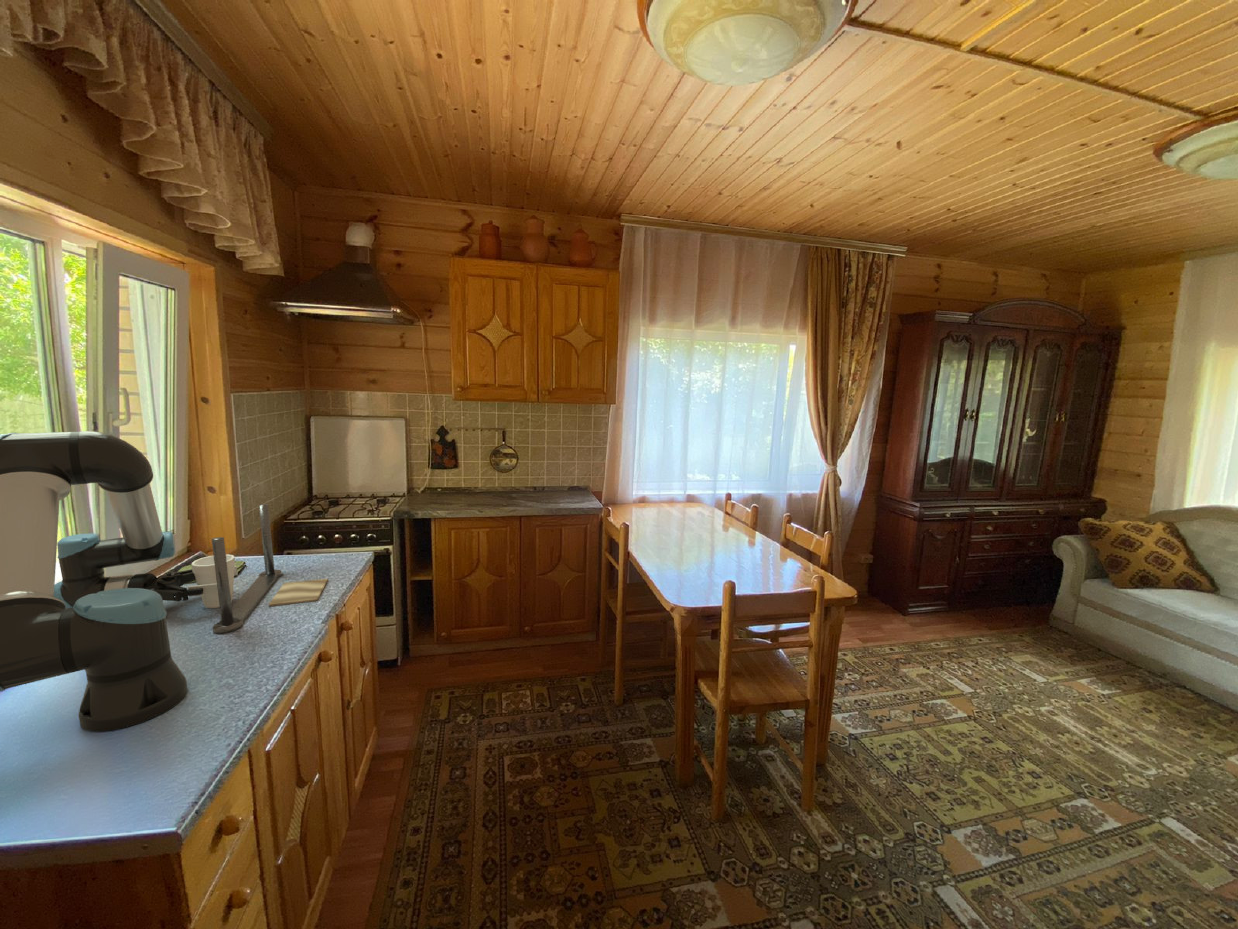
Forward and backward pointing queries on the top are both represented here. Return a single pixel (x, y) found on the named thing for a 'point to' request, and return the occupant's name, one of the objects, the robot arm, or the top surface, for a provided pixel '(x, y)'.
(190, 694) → the top surface
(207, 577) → the foam cup
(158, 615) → the robot arm
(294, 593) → the birch pad
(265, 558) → the rod gate
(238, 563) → the washcloth
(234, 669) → the top surface
